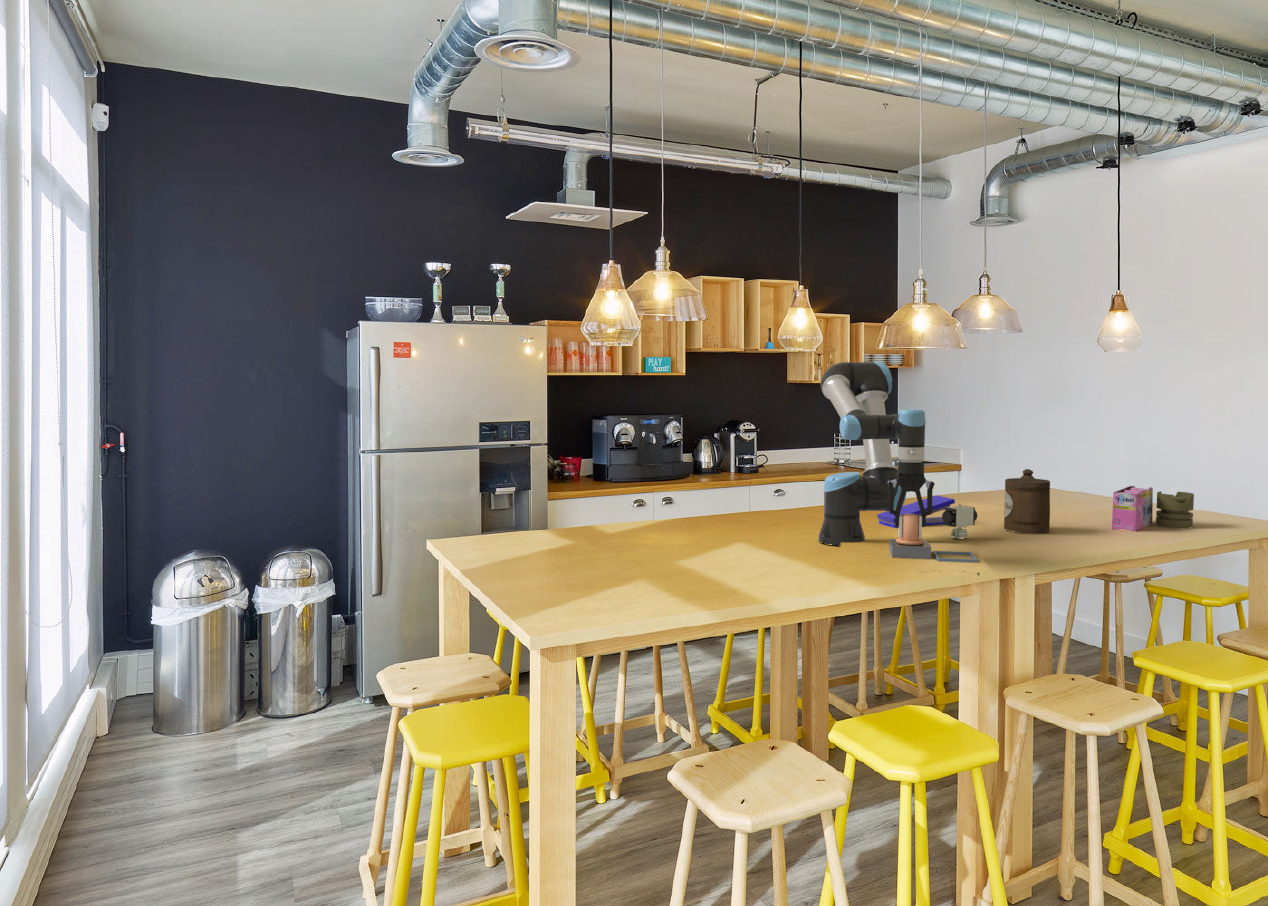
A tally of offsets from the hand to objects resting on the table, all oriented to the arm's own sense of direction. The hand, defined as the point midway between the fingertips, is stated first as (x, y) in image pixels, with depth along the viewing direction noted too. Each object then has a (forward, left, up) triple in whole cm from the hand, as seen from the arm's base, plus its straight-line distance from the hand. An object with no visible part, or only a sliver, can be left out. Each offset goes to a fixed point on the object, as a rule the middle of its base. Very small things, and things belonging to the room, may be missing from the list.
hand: (909, 537), depth 255 cm
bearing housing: (0, 0, -7) cm, 7 cm away
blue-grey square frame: (+13, -3, -7) cm, 15 cm away
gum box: (+85, +72, -7) cm, 111 cm away
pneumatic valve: (+20, +37, -7) cm, 42 cm away
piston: (+100, +75, -7) cm, 125 cm away
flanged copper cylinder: (0, 0, -5) cm, 5 cm away
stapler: (+9, +67, -7) cm, 68 cm away
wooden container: (+46, +57, -7) cm, 73 cm away
